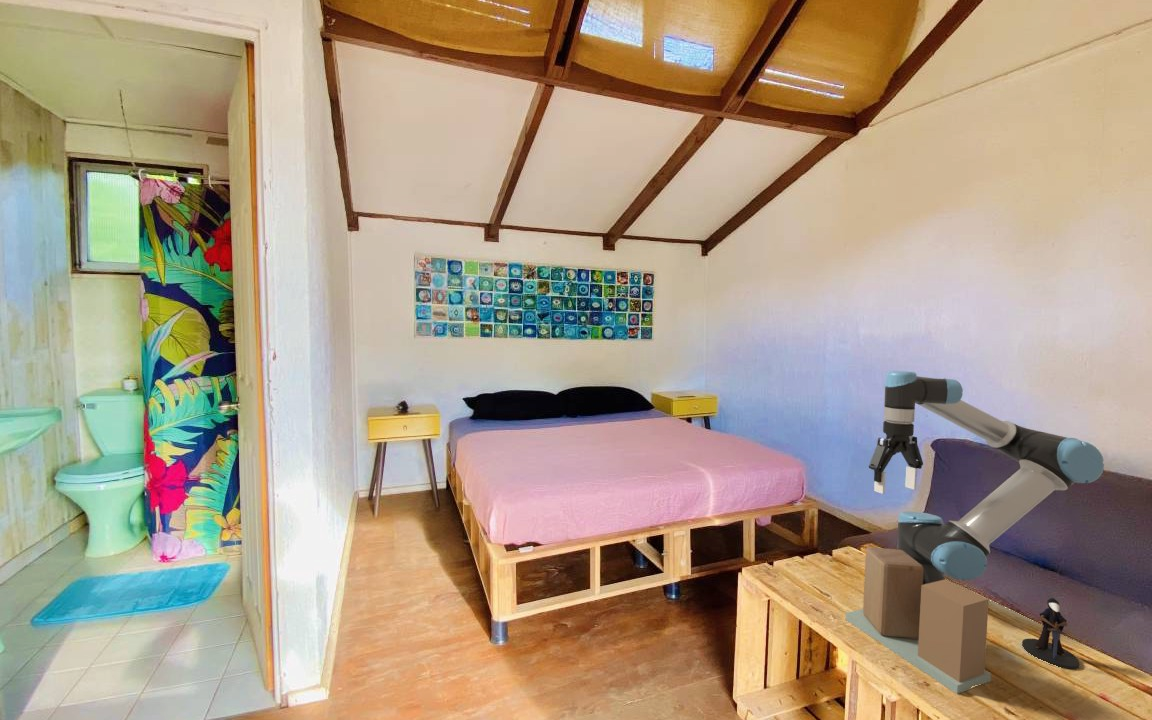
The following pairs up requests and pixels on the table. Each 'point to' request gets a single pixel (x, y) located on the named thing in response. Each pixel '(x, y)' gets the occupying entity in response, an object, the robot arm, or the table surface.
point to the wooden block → (892, 592)
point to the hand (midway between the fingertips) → (895, 490)
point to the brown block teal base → (943, 635)
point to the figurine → (1053, 650)
